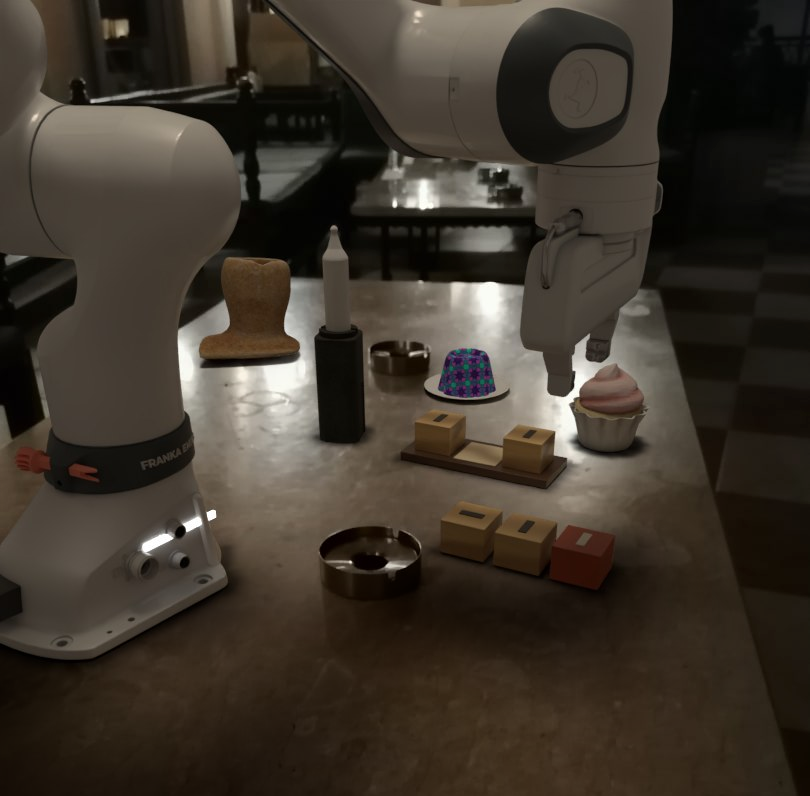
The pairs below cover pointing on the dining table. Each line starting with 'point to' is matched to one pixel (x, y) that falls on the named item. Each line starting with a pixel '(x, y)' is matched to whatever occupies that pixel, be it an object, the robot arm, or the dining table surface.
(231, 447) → the dining table surface
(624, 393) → the cupcake
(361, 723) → the dining table surface
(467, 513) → the tile
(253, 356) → the stone cup
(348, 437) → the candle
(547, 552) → the tan wooden cube
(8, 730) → the dining table surface
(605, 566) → the red cube
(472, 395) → the pudding
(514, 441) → the tray with tiles
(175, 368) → the robot arm
